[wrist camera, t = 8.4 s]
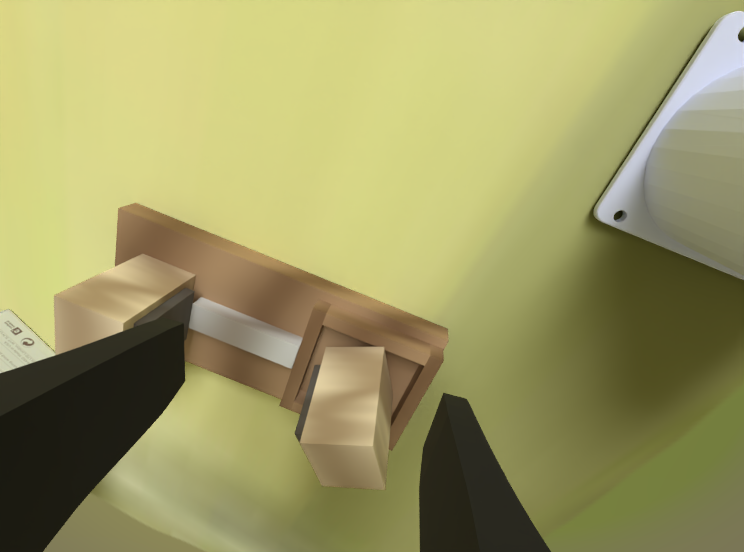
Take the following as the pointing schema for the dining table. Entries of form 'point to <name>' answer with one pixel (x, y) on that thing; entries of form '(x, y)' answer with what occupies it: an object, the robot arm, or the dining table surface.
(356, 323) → the rail base
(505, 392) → the dining table surface
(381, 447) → the block
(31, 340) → the supplement box
